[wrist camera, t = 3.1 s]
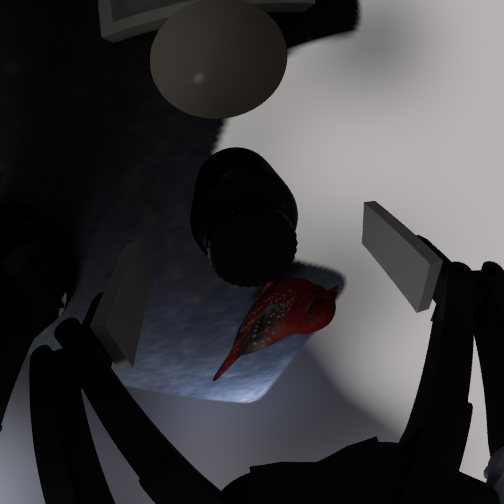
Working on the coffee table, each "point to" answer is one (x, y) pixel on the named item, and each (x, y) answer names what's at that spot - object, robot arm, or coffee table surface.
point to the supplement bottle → (244, 218)
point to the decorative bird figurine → (282, 316)
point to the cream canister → (218, 58)
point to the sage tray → (165, 14)
